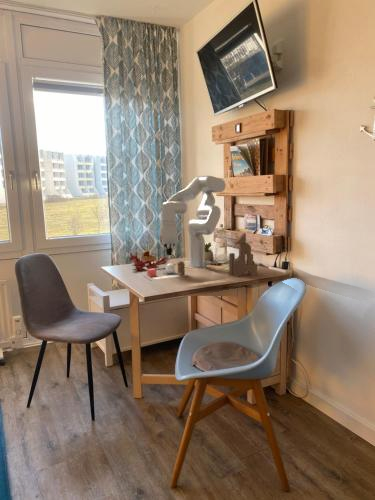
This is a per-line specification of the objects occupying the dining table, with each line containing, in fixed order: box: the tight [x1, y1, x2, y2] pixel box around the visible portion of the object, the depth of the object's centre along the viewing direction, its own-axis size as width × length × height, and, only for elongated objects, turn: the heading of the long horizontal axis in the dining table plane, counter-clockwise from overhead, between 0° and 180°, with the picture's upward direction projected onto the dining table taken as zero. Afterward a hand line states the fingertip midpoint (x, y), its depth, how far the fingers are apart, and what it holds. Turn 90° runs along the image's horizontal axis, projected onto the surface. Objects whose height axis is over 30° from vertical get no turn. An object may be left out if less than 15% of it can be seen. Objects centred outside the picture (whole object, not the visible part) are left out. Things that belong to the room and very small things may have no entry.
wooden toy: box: [228, 232, 258, 277], centre depth 221 cm, size 16×7×25 cm, turn 101°
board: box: [142, 267, 186, 282], centre depth 218 cm, size 23×14×5 cm, turn 117°
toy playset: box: [129, 250, 170, 272], centre depth 244 cm, size 35×26×14 cm
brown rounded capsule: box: [177, 261, 186, 277], centre depth 218 cm, size 4×4×8 cm
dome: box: [165, 263, 176, 273], centre depth 222 cm, size 5×5×5 cm
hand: (169, 255), depth 221 cm, fingers closed
